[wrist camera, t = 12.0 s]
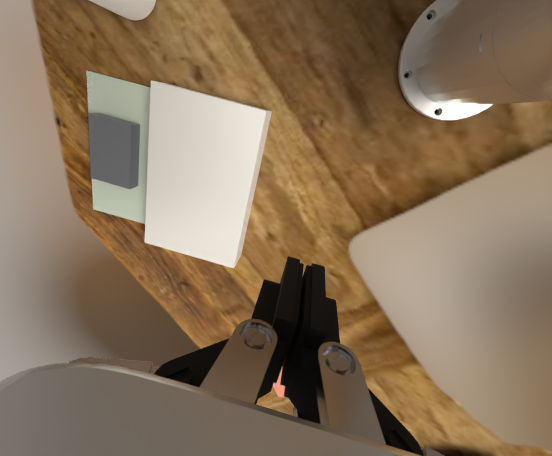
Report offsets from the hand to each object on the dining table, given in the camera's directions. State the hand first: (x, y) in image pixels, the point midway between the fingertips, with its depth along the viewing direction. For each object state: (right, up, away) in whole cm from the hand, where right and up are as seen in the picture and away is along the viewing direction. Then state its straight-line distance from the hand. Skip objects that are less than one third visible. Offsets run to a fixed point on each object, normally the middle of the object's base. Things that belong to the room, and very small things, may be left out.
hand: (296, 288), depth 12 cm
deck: (-11, +10, +27) cm, 31 cm away
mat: (-23, +13, +28) cm, 38 cm away
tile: (-24, +13, +25) cm, 37 cm away
